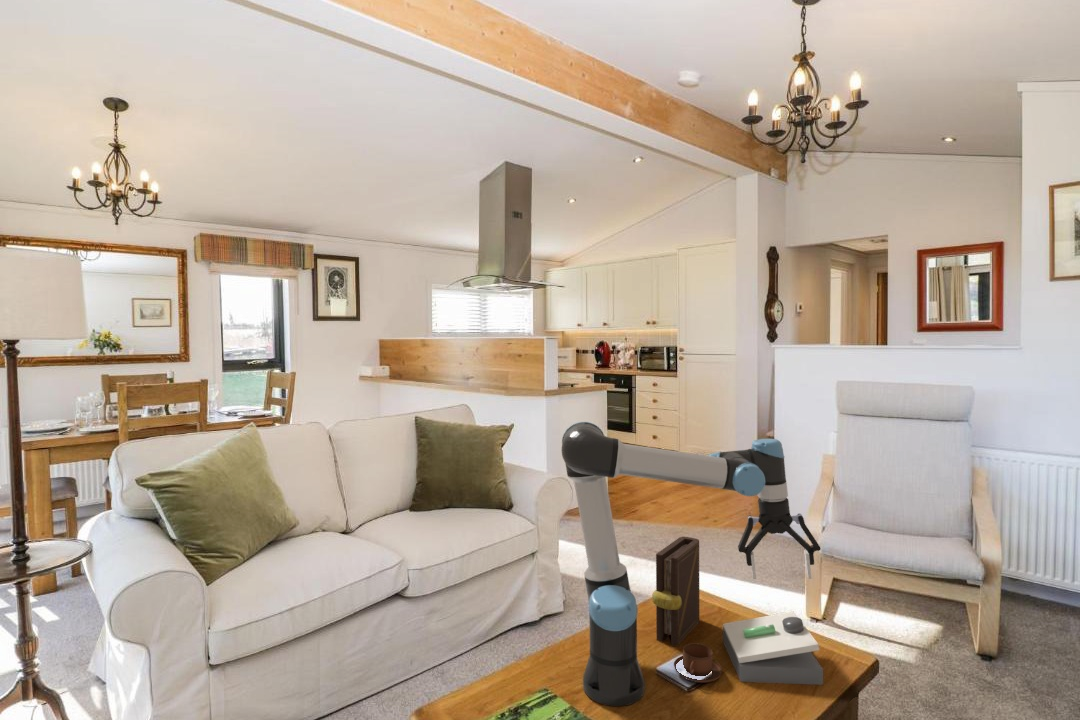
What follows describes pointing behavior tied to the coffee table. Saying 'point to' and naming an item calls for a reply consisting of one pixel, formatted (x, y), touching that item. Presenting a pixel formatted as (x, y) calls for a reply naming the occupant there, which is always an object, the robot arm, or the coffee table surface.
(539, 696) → the coffee table surface
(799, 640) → the level plate
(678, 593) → the book
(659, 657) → the coffee table surface
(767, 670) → the level base
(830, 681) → the coffee table surface
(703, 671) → the cup and saucer
